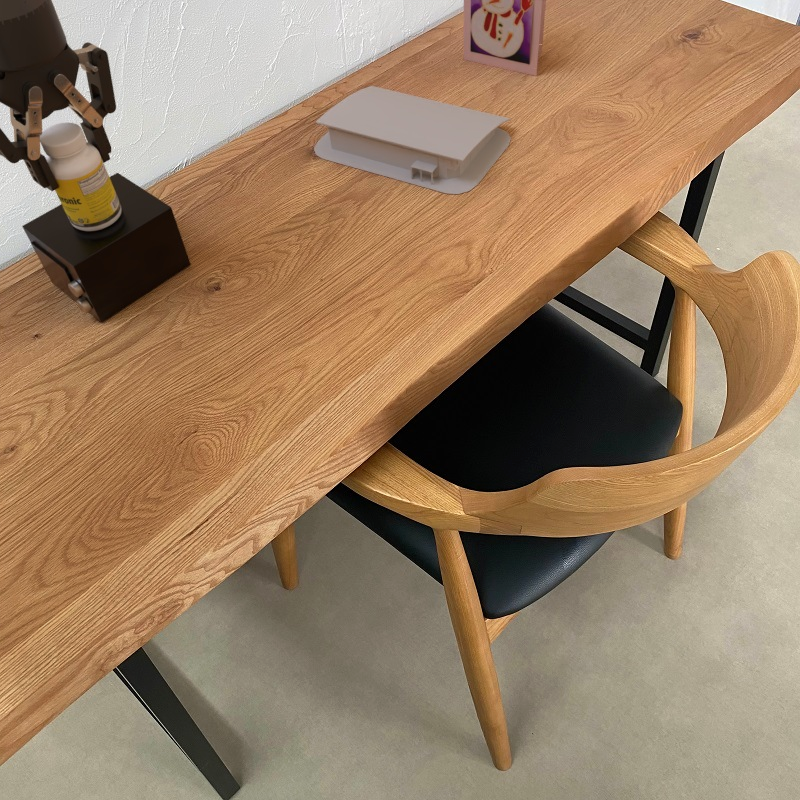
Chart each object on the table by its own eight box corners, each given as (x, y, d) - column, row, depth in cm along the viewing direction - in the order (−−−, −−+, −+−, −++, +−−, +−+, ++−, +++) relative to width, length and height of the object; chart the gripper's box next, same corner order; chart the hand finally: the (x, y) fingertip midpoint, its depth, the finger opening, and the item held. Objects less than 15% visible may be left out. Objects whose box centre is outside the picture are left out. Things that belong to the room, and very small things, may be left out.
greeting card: (460, 62, 115) (460, -49, 103) (483, 39, 119) (486, -71, 107) (533, 78, 111) (542, -36, 99) (555, 54, 115) (565, -58, 103)
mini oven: (95, 327, 84) (66, 270, 78) (45, 287, 89) (14, 229, 83) (191, 265, 90) (171, 206, 83) (140, 229, 94) (117, 172, 88)
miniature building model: (466, 199, 94) (466, 170, 91) (305, 153, 102) (300, 126, 99) (518, 132, 102) (520, 104, 99) (365, 95, 110) (363, 68, 107)
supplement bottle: (60, 219, 83) (20, 136, 76) (104, 194, 86) (69, 111, 78) (89, 240, 81) (50, 156, 73) (133, 214, 83) (100, 130, 76)
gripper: (52, -43, 71) (116, 128, 84) (-102, 18, 65) (-7, 193, 78) (99, -22, 67) (157, 153, 80) (-59, 45, 61) (32, 223, 74)
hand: (76, 172), depth 79 cm, fingers closed on supplement bottle, 5 cm apart
